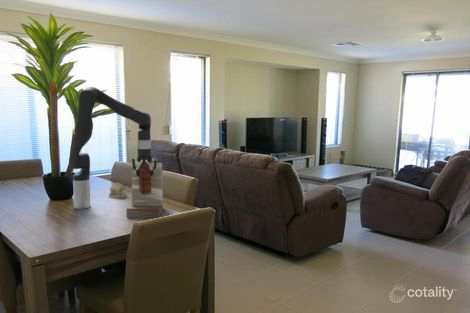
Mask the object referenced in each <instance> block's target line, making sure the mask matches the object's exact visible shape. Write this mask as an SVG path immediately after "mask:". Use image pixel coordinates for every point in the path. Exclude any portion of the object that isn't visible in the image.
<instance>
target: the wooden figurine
mask: <svg viewBox="0 0 470 313" xmlns="http://www.w3.org/2000/svg"><path fill="white" fill-rule="evenodd" d="M139 189H140V192H141V194H143V195H146V194H150V193H151V176H150V167H149V164H148V163H145V162H144V163H141V165H140V168H139Z"/></svg>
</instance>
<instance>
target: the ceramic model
mask: <svg viewBox="0 0 470 313" xmlns="http://www.w3.org/2000/svg"><path fill="white" fill-rule="evenodd" d="M109 191H110V193H108V197H109V198H112V199H118V200H120V199H125V198H127V197H128V194H127V193H126V192H125V191H126V187H125V186H124V185H123V184H122V183H120V182H118V181H117V182H114V183H113V184H112V185H111V186H110V188H109Z"/></svg>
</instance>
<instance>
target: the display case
mask: <svg viewBox="0 0 470 313" xmlns="http://www.w3.org/2000/svg"><path fill="white" fill-rule="evenodd" d="M150 163H151V165H152V167H154V162H150ZM130 164H131V165H130V166H131V168H130V170H131V171H130V172H131V196H132V197H131V205H132V206H131V207H126V218H160V216H161V214H162V211H163V209H162V208H164V207H163V206H164V205H163V203H164V202H163V201H164V198H163V197H164V196H163V192H164V191H163V189H164V188H163V163H161V162H159V163H158V162H157V167H156V169H153V175H152V176H151V193H150V194H146V195H143V194H141V192H140V189H139V176H137V175H136V169H133V165H132V162H131V163H130ZM138 164H139V162H135V166H136V167H137V166H138ZM139 168H140V167H139ZM150 170H151V169H150ZM160 213H161V214H160Z"/></svg>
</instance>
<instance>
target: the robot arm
mask: <svg viewBox="0 0 470 313" xmlns="http://www.w3.org/2000/svg"><path fill="white" fill-rule="evenodd" d="M97 103H98V104H101V105H103V106H106V107H107V108H109V109H110V110H111V111H112V112H113V113H115V114H116V115H118V116H120V117H123V118H125V119H128V120H130V121H131V122H134V123H136V124H138V131H137V158H136V157H133V158H132V159H131V161H132V162H131V163H132V165H133V169H136V175H137V176H139V167H140V165H141V163H144V162H145V163H148V164H149V167H150V169H151V170H150V176H152V175H153V169H156V167H157V163H158V158H153V157H152V142H151V124H152V117H151V115H150V114H149V113H147V112H143V111H140V110H137V109H135V107H133V106H130V105H129V104H126V103H123V102H121V101H119V100H117V99H115V98H113V97H111V96H110V95H108V94H106V93H105V92H103V91H102V90H100V89H99V88H97V87H94V86H88V87H85V88H84V89H83V90H81V91H80V93H79V96H78V112H77V116H76V117H77V118H76V123H75V128H74V134H73V135H74V136H73V140H72V142H73V143H72V146H71V151H70V153H69V158H68V163H69V168H70V169H71V170H79V169H80V170H79V171H78V172H76V173H74V174H73V175H72V186H73V188H72V189H73V206H74V209H77V210H78V209H79V210H81V209H84V210H85V209H89V208H91V206H92V205H91V186H90V185H91V184H90V182H91V181H90V176H91V159H90V155H89V153H87V152H81V150H82V149H83V148H84V147H85V146H86V144H87V143H88V142H89V141H90V139H91V138H92V137H93V136H92V135H93V129H94V121H93V116H92V114H93V112H94V111H93V109H94V106H95V104H97ZM135 163H139V164H138V166H137V167H136V166H135ZM151 163H154V167H152V165H151Z"/></svg>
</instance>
